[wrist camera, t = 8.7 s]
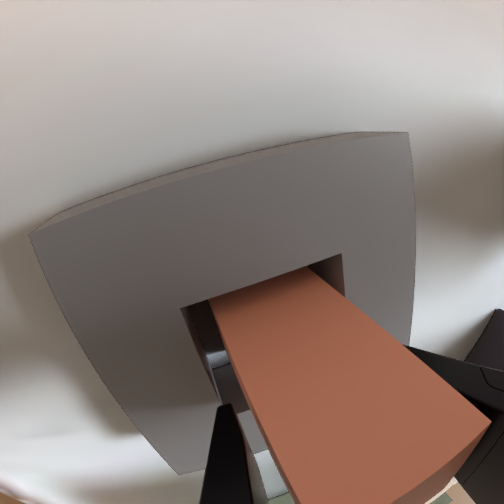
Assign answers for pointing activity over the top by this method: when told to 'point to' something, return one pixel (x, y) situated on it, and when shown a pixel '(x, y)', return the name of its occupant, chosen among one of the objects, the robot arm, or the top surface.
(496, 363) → the black flat block
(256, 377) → the peg
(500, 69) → the top surface
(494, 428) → the robot arm
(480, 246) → the top surface
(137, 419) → the socket block
